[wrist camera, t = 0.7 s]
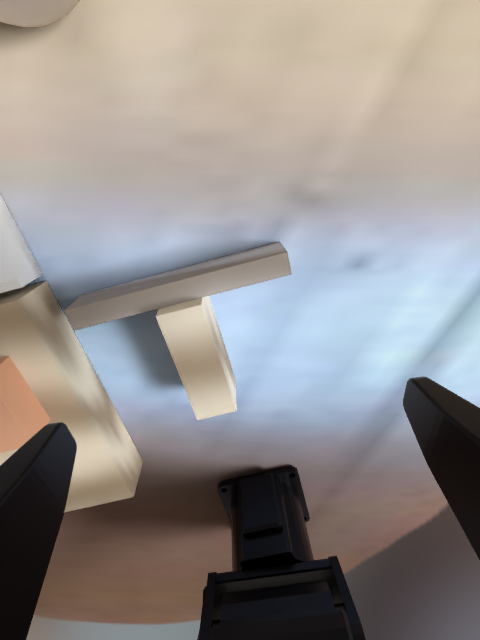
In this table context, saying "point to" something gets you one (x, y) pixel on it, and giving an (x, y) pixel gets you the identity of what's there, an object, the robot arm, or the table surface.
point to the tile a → (17, 408)
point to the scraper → (188, 317)
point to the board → (69, 395)
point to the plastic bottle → (34, 11)
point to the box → (14, 255)
